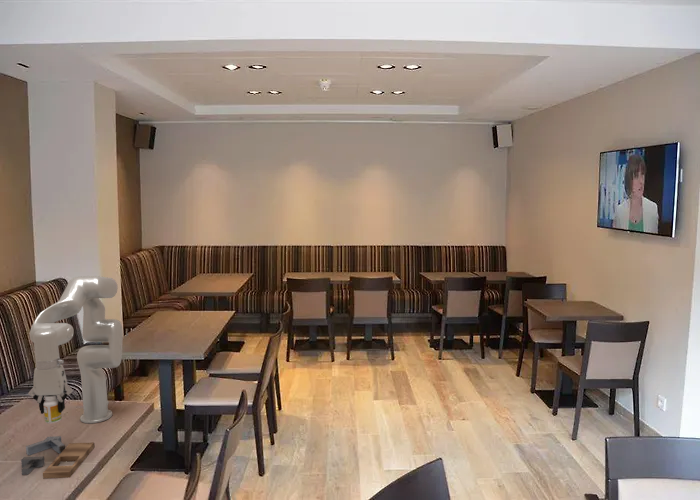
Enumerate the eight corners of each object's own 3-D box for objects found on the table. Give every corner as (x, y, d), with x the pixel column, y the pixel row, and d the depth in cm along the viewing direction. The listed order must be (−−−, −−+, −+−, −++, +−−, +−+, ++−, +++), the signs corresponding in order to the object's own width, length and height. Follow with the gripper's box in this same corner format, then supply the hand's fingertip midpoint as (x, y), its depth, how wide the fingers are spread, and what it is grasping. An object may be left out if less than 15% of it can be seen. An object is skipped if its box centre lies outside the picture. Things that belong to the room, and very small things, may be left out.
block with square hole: (70, 448, 220) (69, 443, 219) (94, 447, 220) (94, 442, 220) (43, 478, 198) (42, 473, 198) (70, 477, 198) (69, 471, 198)
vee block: (36, 444, 223) (35, 437, 223) (73, 443, 224) (73, 435, 223) (24, 455, 214) (23, 448, 214) (63, 454, 215) (63, 446, 215)
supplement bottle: (64, 417, 211) (62, 391, 210) (57, 423, 206) (55, 397, 205) (49, 417, 211) (46, 392, 209) (42, 424, 206) (39, 398, 204)
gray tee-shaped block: (24, 464, 207) (23, 457, 207) (44, 464, 208) (44, 456, 207) (14, 475, 200) (13, 466, 200) (35, 474, 201) (34, 466, 200)
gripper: (76, 359, 210) (81, 406, 213) (27, 361, 208) (32, 408, 211) (68, 366, 202) (73, 415, 205) (17, 368, 201) (22, 417, 204)
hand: (52, 411), depth 208 cm, fingers closed on supplement bottle, 5 cm apart
